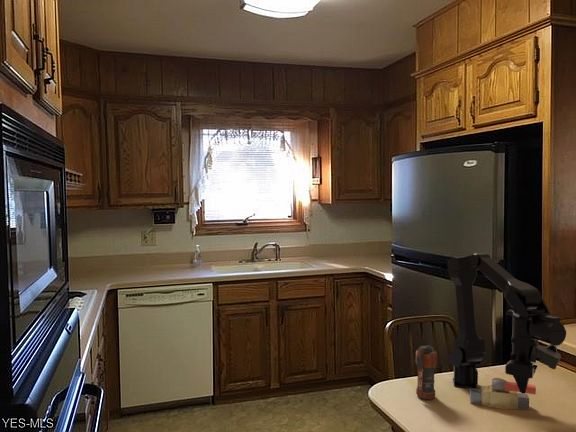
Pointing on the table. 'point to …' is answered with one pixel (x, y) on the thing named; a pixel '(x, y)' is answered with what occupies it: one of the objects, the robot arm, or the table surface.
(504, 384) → the lever
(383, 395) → the table surface
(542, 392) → the table surface
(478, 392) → the valve pipe
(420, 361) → the grenade
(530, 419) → the table surface
